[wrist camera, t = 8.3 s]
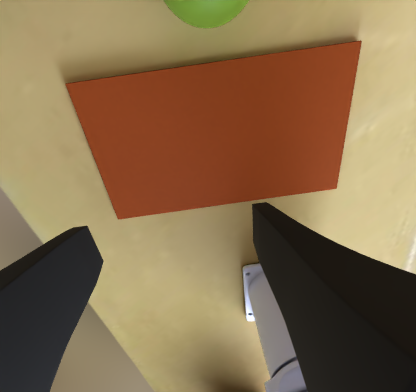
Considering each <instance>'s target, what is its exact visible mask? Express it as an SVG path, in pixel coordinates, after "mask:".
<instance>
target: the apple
mask: <svg viewBox="0 0 416 392" xmlns="http://www.w3.org/2000/svg"><path fill="white" fill-rule="evenodd" d="M248 1H249V0H164V2H165V3H166V4H167V6H168V7H169V9H170V10H171V11H172V12H173V13H174V14H175V15H176V16H177V17H179V18H180V19H181V20H183V21H184V22H186V23H187V24H190V25H192V26H195V27H199V28H214V27H219V26H221V25H224V24H226V23H227V22H229V21H231V20H232V19H233V18H234V17H236V16H237V15H238V14H239V13H240V12H241V10H242V9H243V8H244V7H245V5H246V4H247V3H248Z"/></svg>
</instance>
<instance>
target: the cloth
mask: <svg viewBox="0 0 416 392" xmlns="http://www.w3.org/2000/svg"><path fill="white" fill-rule="evenodd" d="M361 42H362V41H355V42H348V43H341V44H334V45H328V46H321V47H314V48H307V49H300V50H293V51H286V52H279V53H272V54H266V55H259V56H252V57H245V58H238V59H231V60H224V61H217V62H210V63H204V64H197V65H190V66H183V67H176V68H169V69H162V70H155V71H149V72H142V73H135V74H128V75H121V76H114V77H107V78H100V79H93V80H87V81H80V82H73V83H66V87H67V89H68V92H69V94H70V97H71V100H72V102H73V105H74V107H75V110H76V112H77V115H78V118H79V120H80V123H81V125H82V128H83V130H84V133H85V136H86V138H87V141H88V143H89V146H90V148H91V151H92V154H93V156H94V159H95V161H96V164H97V166H98V169H99V172H100V174H101V177H102V179H103V182H104V184H105V187H106V190H107V192H108V195H109V197H110V200H111V202H112V205H113V207H114V210H115V213H116V215H117V218H118V219H125V218H132V217H139V216H146V215H153V214H160V213H167V212H174V211H181V210H188V209H195V208H203V207H210V206H217V205H224V204H231V203H238V202H245V201H252V200H259V199H266V198H273V197H281V196H288V195H295V194H302V193H309V192H316V191H323V190H330V189H336V188H337V183H338V177H339V171H340V165H341V159H342V154H343V148H344V142H345V136H346V130H347V124H348V118H349V112H350V107H351V101H352V95H353V89H354V83H355V77H356V71H357V65H358V59H359V54H360V48H361Z"/></svg>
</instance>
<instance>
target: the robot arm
mask: <svg viewBox="0 0 416 392" xmlns="http://www.w3.org/2000/svg"><path fill="white" fill-rule="evenodd" d="M252 214H253V242H254V246H255V249H256V253H257V256H258V259H259V262H260V263H259V264H251V265H246V266H244V267H243V283H244V296H245V310H246V319H247V321H255V322H256V326H257V330H258V334H259V338H260V342H261V345H262V349H263V353H264V357H265V361H266V365H267V368H268V371H269V375H270V380H268V381H266V382H265V383H264V384H265V388H266V392H416V274H413V273H410V272H407V271H404V270H401V269H399V268H396V267H393V266H391V265H388V264H385V263H383V262H380V261H377V260H375V259H372V258H370V257H367V256H365V255H363V254H360V253H358V252H356V251H353V250H351V249H349V248H347V247H344V246H342V245H340V244H338V243H336V242H334V241H332V240H330V239H328V238H326V237H324V236H322V235H320V234H318V233H316V232H315V231H313V230H311V229H309V228H307V227H306V226H304V225H302V224H300V223H299V222H297V221H296V220H294V219H292V218H291V217H289V216H287V215H286V214H284V213H283V212H281V211H280V210H278V209H277V208H275V207H274V206H272V205H270V204H269V203H267V202H264V203H256V204H252ZM102 265H103V259H102V257H101V254H100V252H99V250H98V248H97V246H96V244H95V242H94V239H93V237H92V235H91V233H90V231H89V229H88V226H82V227H74V228H71V229H69V230H67V231H65V232H64V233H62V234H60V235H58V236H57V237H55V238H53V239H52V240H50V241H48V242H47V243H45V244H43V245H42V246H40V247H38V248H37V249H35V250H34V251H32V252H30V253H29V254H27V255H26V256H24V257H22V258H21V259H19V260H17V261H16V262H14V263H12V264H11V265H9V266H8V267H6V268H4V269H2V270H1V271H0V392H50V389H51V386H52V383H53V380H54V378H55V375H56V372H57V370H58V367H59V364H60V362H61V359H62V356H63V354H64V351H65V349H66V346H67V344H68V342H69V340H70V338H71V335H72V333H73V331H74V329H75V327H76V325H77V323H78V321H79V319H80V317H81V315H82V313H83V311H84V309H85V306H86V305H87V302H88V300H89V298H90V296H91V294H92V292H93V290H94V288H95V285H96V283H97V280H98V277H99V275H100V271H101V268H102ZM248 272H249V273H248Z"/></svg>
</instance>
